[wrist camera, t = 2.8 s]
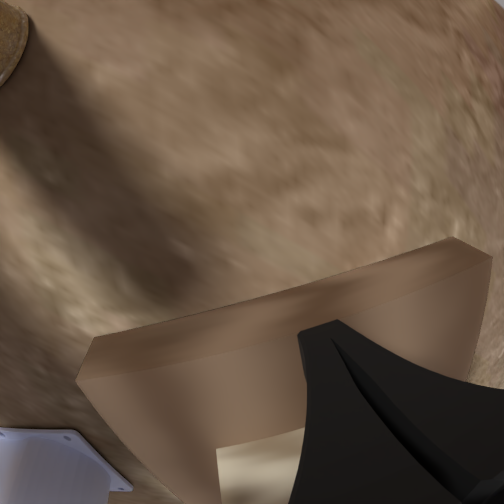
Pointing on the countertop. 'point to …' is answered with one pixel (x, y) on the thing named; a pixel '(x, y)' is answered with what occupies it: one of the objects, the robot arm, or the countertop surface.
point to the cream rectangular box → (260, 469)
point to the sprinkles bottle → (11, 38)
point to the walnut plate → (274, 358)
